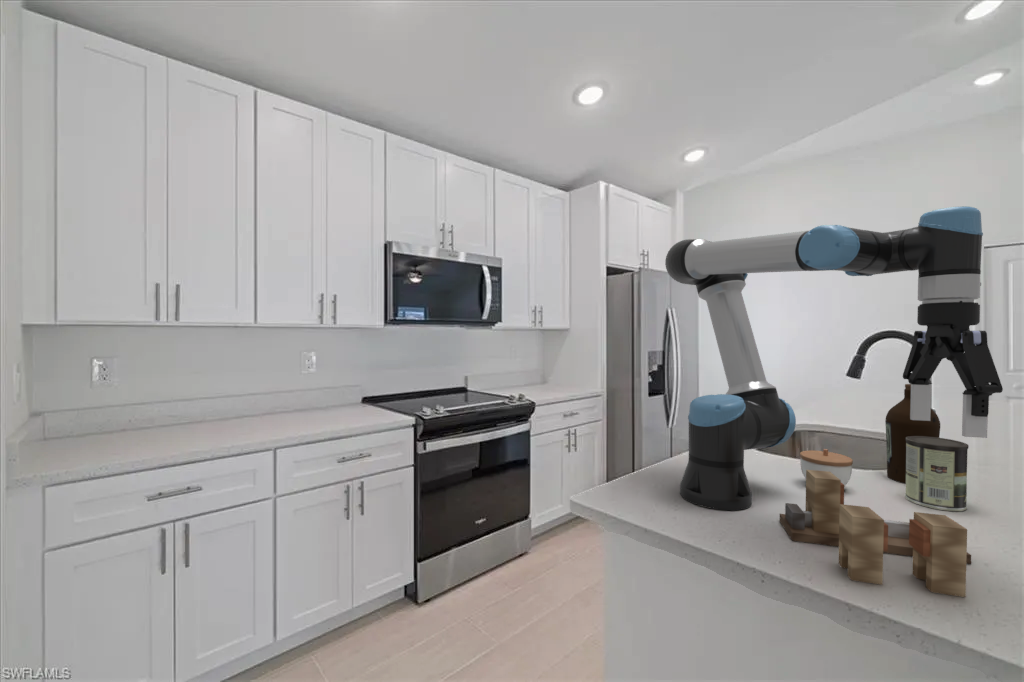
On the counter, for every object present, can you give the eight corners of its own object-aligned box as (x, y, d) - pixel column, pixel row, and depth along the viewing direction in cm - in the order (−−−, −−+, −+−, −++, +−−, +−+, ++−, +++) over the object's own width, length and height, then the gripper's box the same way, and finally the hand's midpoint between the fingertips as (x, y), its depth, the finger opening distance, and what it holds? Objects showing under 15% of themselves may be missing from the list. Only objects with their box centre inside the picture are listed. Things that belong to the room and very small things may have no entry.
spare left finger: (851, 580, 69) (852, 516, 69) (838, 563, 74) (839, 504, 74) (888, 585, 68) (890, 520, 68) (873, 568, 73) (874, 507, 73)
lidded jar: (858, 497, 104) (859, 457, 104) (804, 491, 108) (805, 452, 108) (844, 482, 114) (844, 446, 114) (795, 477, 118) (795, 442, 118)
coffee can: (944, 496, 105) (945, 436, 105) (980, 513, 95) (982, 447, 95) (893, 492, 107) (895, 434, 107) (923, 509, 97) (925, 445, 97)
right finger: (924, 591, 66) (926, 524, 66) (906, 573, 71) (907, 511, 71) (965, 597, 65) (967, 529, 65) (943, 578, 70) (945, 515, 70)
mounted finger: (814, 531, 83) (815, 477, 83) (805, 520, 88) (806, 469, 88) (844, 535, 81) (845, 480, 81) (833, 523, 86) (834, 472, 86)
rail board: (792, 540, 82) (792, 516, 82) (779, 520, 91) (779, 499, 91) (971, 564, 74) (971, 537, 74) (938, 539, 83) (939, 515, 83)
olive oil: (940, 480, 116) (942, 384, 115) (937, 490, 109) (939, 388, 108) (887, 471, 124) (889, 381, 123) (881, 479, 116) (883, 384, 116)
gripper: (1041, 296, 62) (1037, 447, 63) (927, 306, 86) (925, 415, 87) (974, 296, 64) (971, 443, 65) (881, 306, 88) (879, 413, 89)
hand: (944, 428), depth 76 cm, fingers open, 13 cm apart
